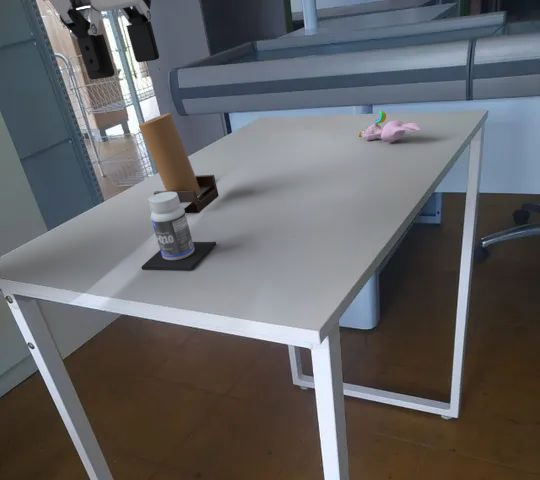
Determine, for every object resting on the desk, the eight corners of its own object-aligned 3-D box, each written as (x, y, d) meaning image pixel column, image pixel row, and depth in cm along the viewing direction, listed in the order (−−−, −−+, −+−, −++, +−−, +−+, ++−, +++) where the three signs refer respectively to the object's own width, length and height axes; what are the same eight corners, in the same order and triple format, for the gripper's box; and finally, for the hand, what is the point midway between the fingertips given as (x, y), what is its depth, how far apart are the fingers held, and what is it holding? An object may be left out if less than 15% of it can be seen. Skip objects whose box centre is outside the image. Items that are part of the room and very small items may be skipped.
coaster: (142, 269, 77) (141, 266, 76) (170, 244, 82) (169, 241, 82) (191, 270, 74) (190, 267, 73) (216, 244, 79) (216, 241, 79)
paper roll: (132, 128, 88) (159, 119, 85) (149, 118, 92) (176, 110, 89) (167, 210, 95) (193, 204, 92) (182, 198, 99) (208, 192, 96)
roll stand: (159, 214, 95) (153, 192, 92) (181, 196, 100) (175, 176, 98) (198, 213, 92) (193, 191, 89) (218, 195, 97) (214, 174, 95)
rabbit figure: (353, 149, 111) (406, 145, 99) (348, 118, 109) (402, 110, 96) (376, 140, 114) (431, 135, 101) (371, 109, 111) (427, 101, 99)
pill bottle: (155, 258, 78) (138, 201, 73) (179, 244, 80) (163, 188, 76) (178, 263, 75) (161, 204, 70) (201, 249, 78) (187, 191, 73)
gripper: (93, -110, 62) (139, 58, 72) (-20, -117, 49) (54, 89, 59) (148, -127, 59) (188, 51, 69) (44, -139, 47) (110, 81, 56)
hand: (126, 68), depth 64 cm, fingers open, 9 cm apart
